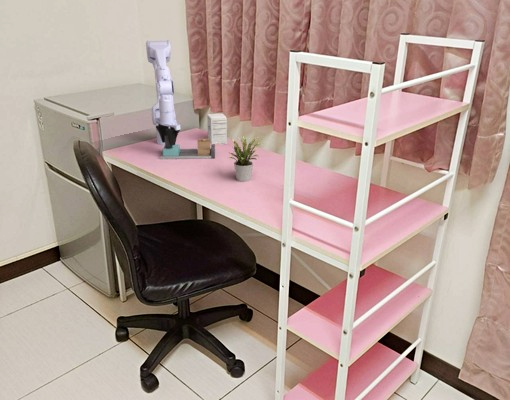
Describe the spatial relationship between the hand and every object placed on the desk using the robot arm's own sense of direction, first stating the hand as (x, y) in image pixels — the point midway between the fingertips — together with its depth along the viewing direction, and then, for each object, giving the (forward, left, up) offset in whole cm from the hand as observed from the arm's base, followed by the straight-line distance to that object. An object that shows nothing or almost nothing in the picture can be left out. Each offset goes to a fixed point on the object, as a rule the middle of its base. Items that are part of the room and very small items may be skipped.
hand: (168, 143), depth 204 cm
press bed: (0, +8, -6) cm, 10 cm away
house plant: (+25, +31, -6) cm, 40 cm away
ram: (0, +1, -5) cm, 5 cm away
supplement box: (-19, +20, -6) cm, 28 cm away
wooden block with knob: (0, +14, -5) cm, 15 cm away
